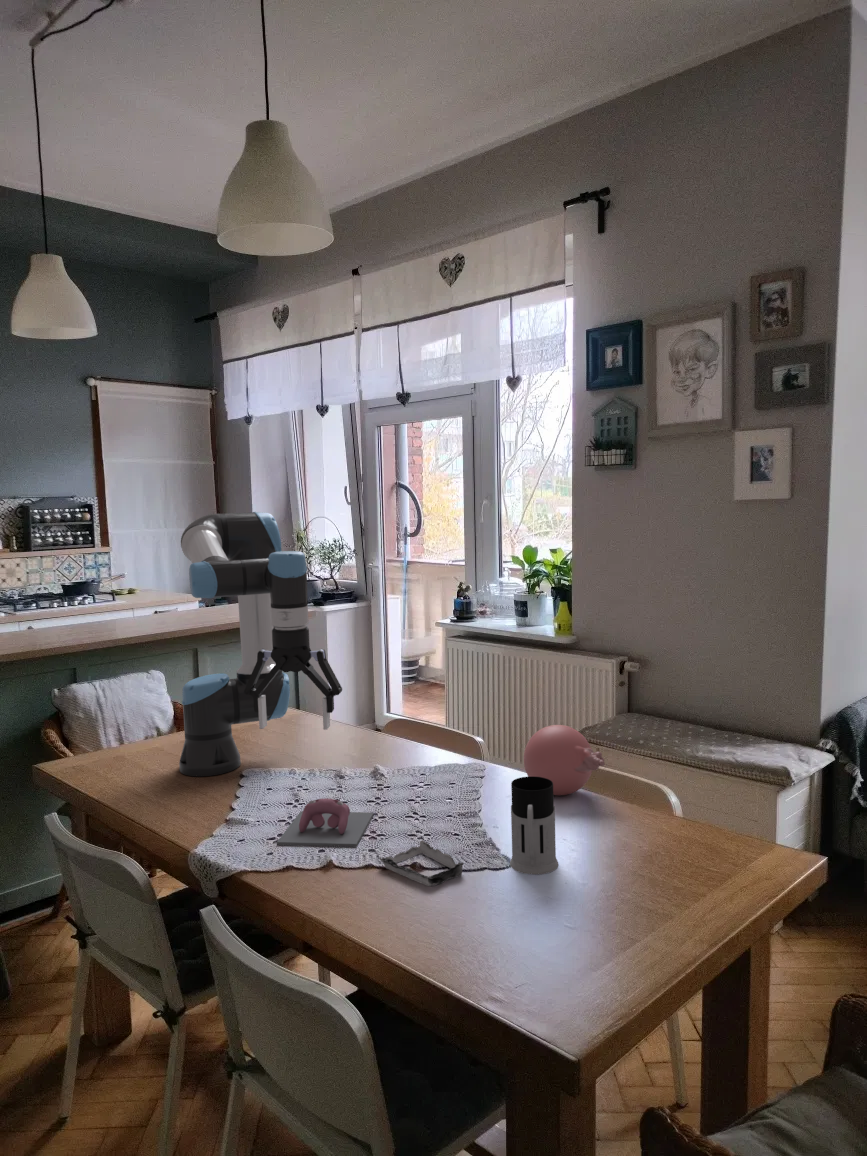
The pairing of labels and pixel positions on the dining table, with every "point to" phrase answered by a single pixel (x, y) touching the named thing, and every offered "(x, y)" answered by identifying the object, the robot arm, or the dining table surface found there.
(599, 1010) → the dining table surface
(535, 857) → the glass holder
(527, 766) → the balloon
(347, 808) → the video game controller
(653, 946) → the dining table surface
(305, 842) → the charcoal mat
